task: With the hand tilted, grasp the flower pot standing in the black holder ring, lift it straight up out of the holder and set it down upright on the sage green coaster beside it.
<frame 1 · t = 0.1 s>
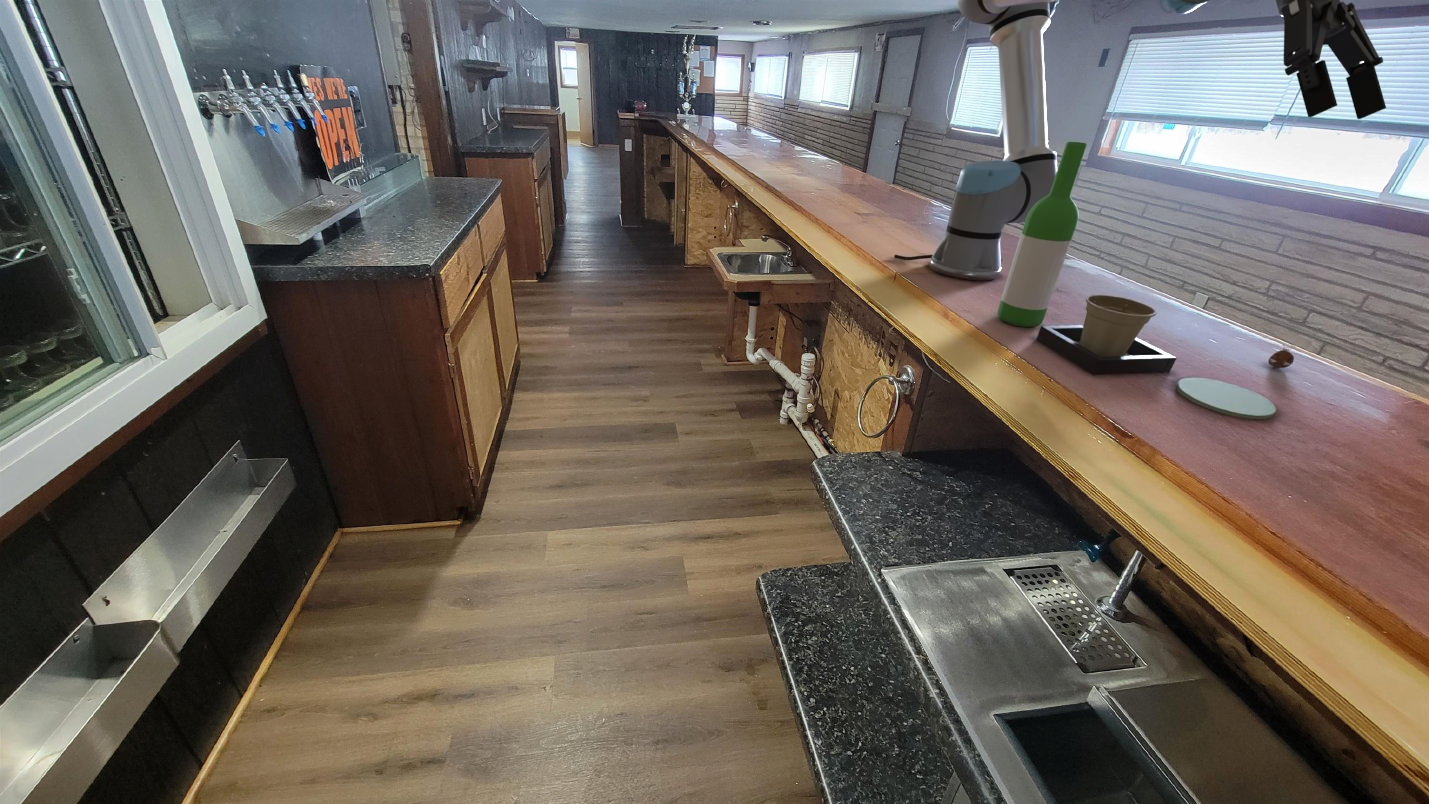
hand: (1348, 113, 80), 36 cm above the counter, tool tilted 35°, fingers open, 13 cm apart
chocolate: (1276, 369, 90), on the counter
wine bottle: (1018, 322, 104), on the counter
coaster: (1223, 399, 80), on the counter
flower pot: (1099, 356, 92), resting in holder
holder: (1099, 355, 91), on the counter
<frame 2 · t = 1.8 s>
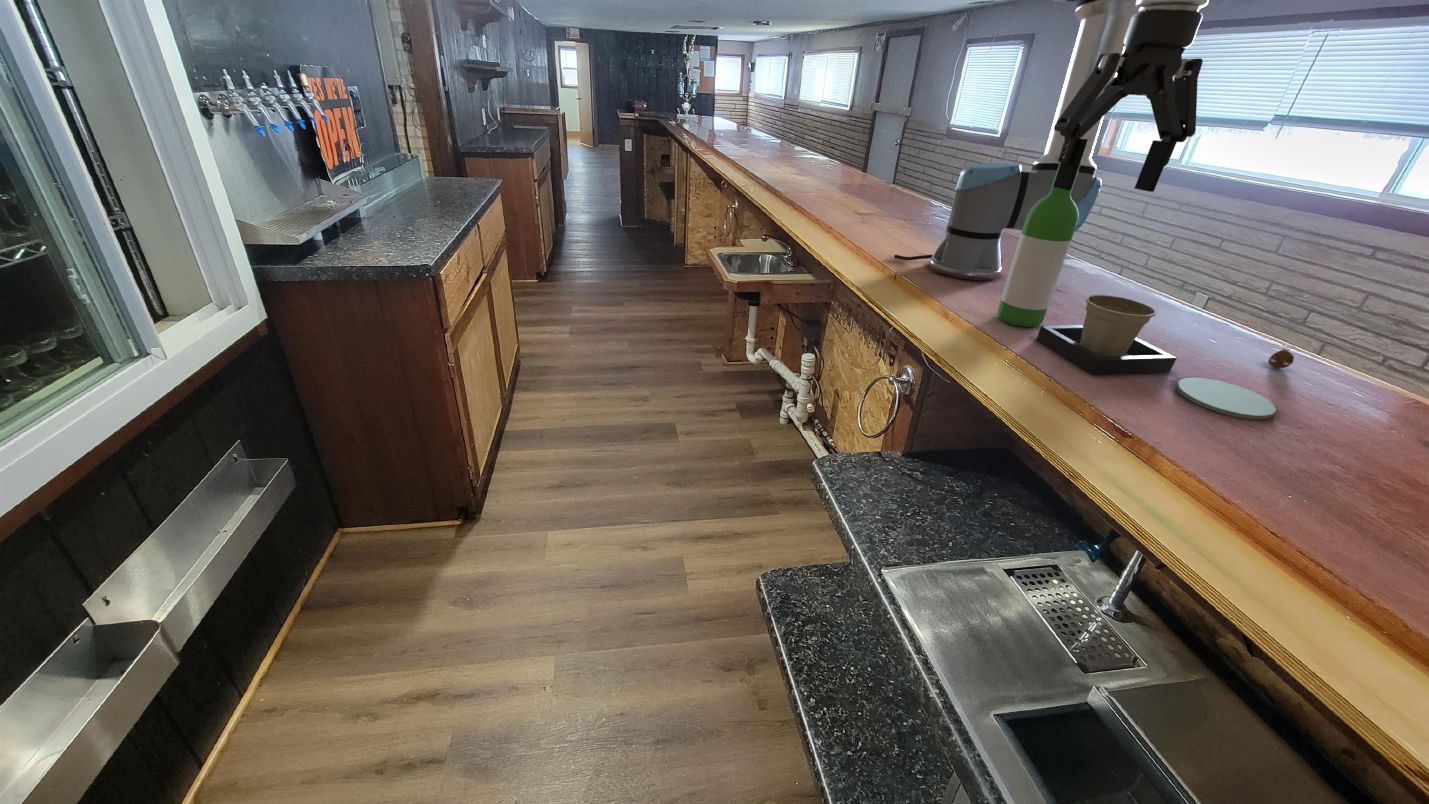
hand: (1103, 189, 81), 25 cm above the counter, tool pointing down, fingers open, 13 cm apart
nothing on the counter moved.
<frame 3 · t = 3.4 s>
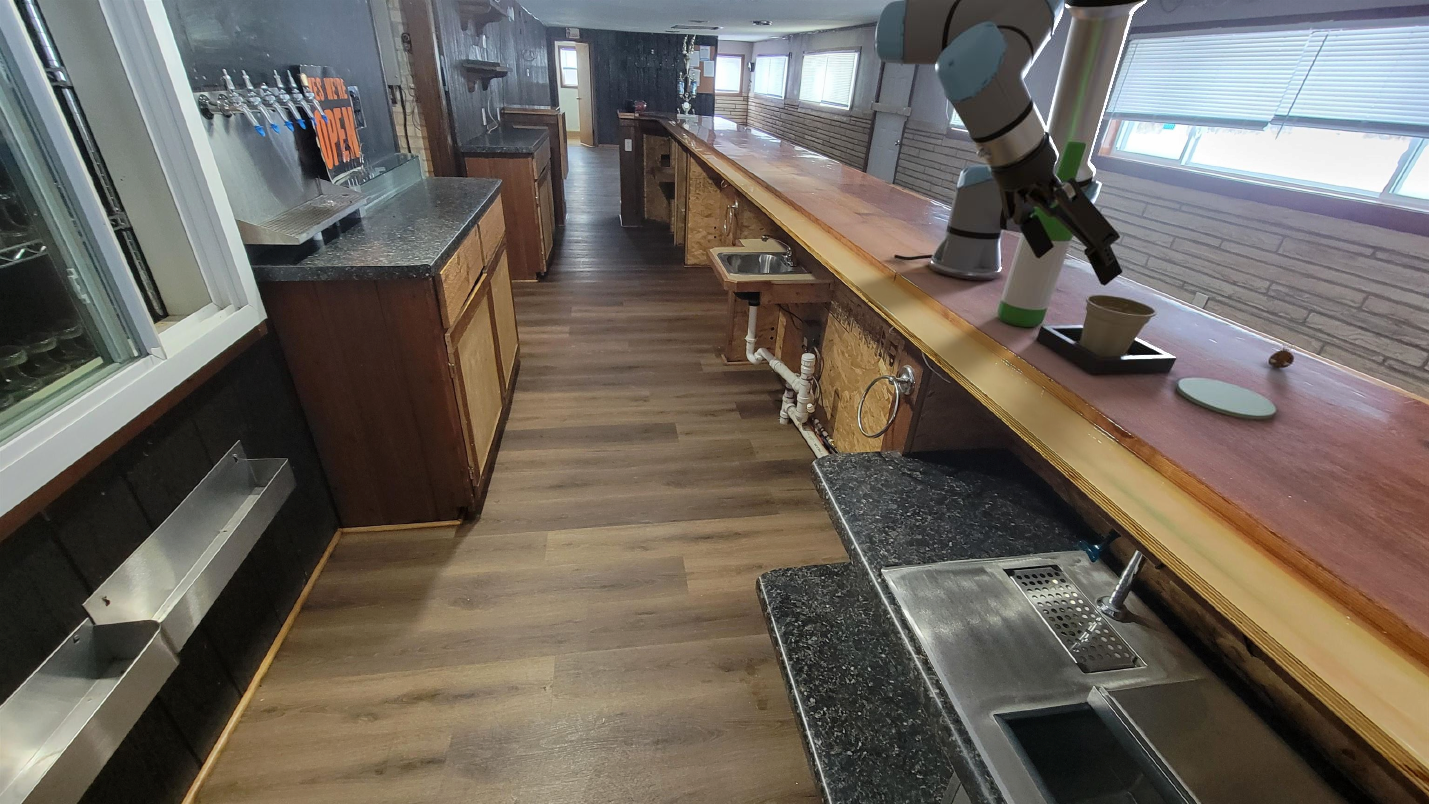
hand: (1076, 264, 82), 15 cm above the counter, tool tilted 45°, fingers open, 13 cm apart
nothing on the counter moved.
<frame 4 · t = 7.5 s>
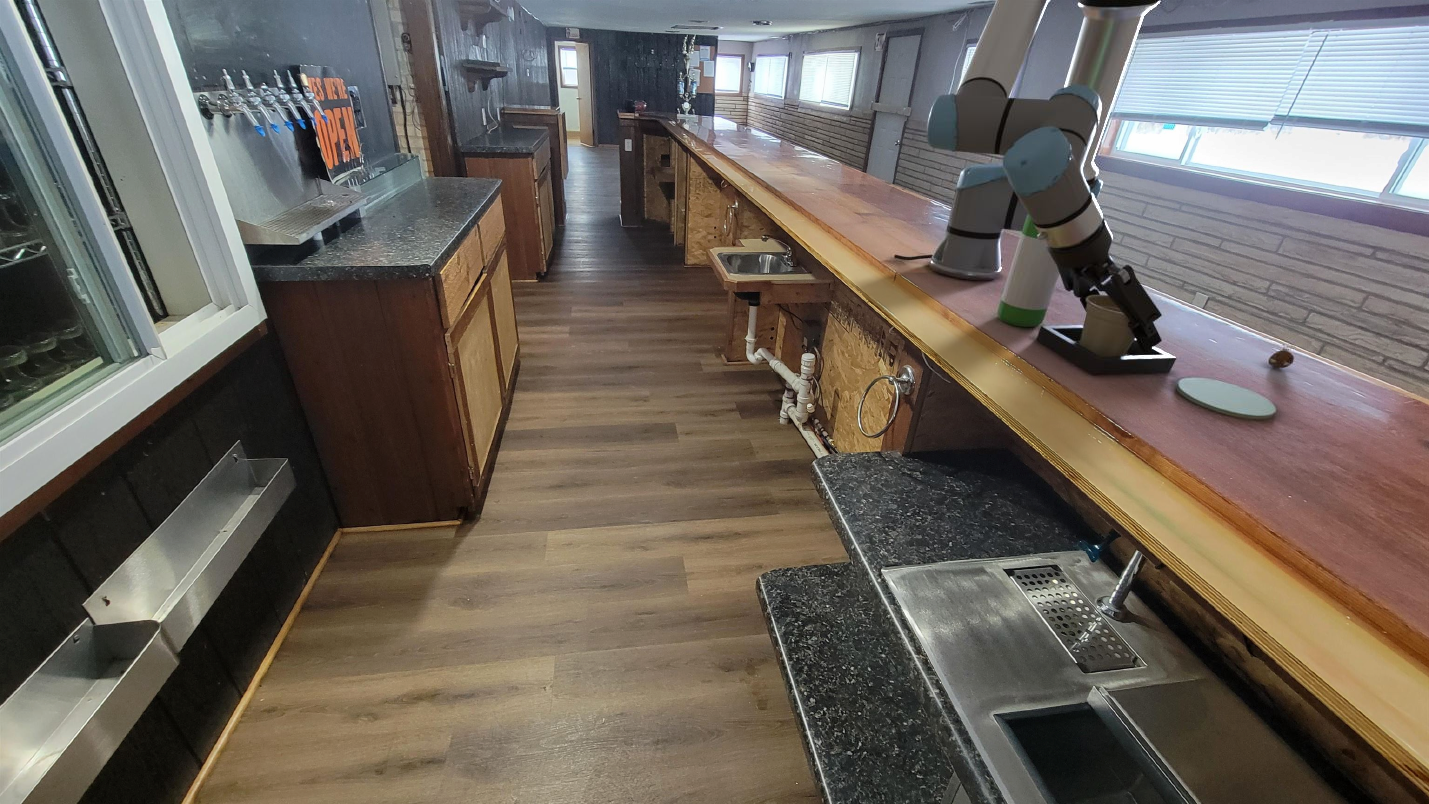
hand: (1125, 332, 90), 4 cm above the counter, tool tilted 45°, fingers closed on flower pot, 9 cm apart
flower pot: (1099, 356, 92), resting in holder, touching gripper
everything else where it was.
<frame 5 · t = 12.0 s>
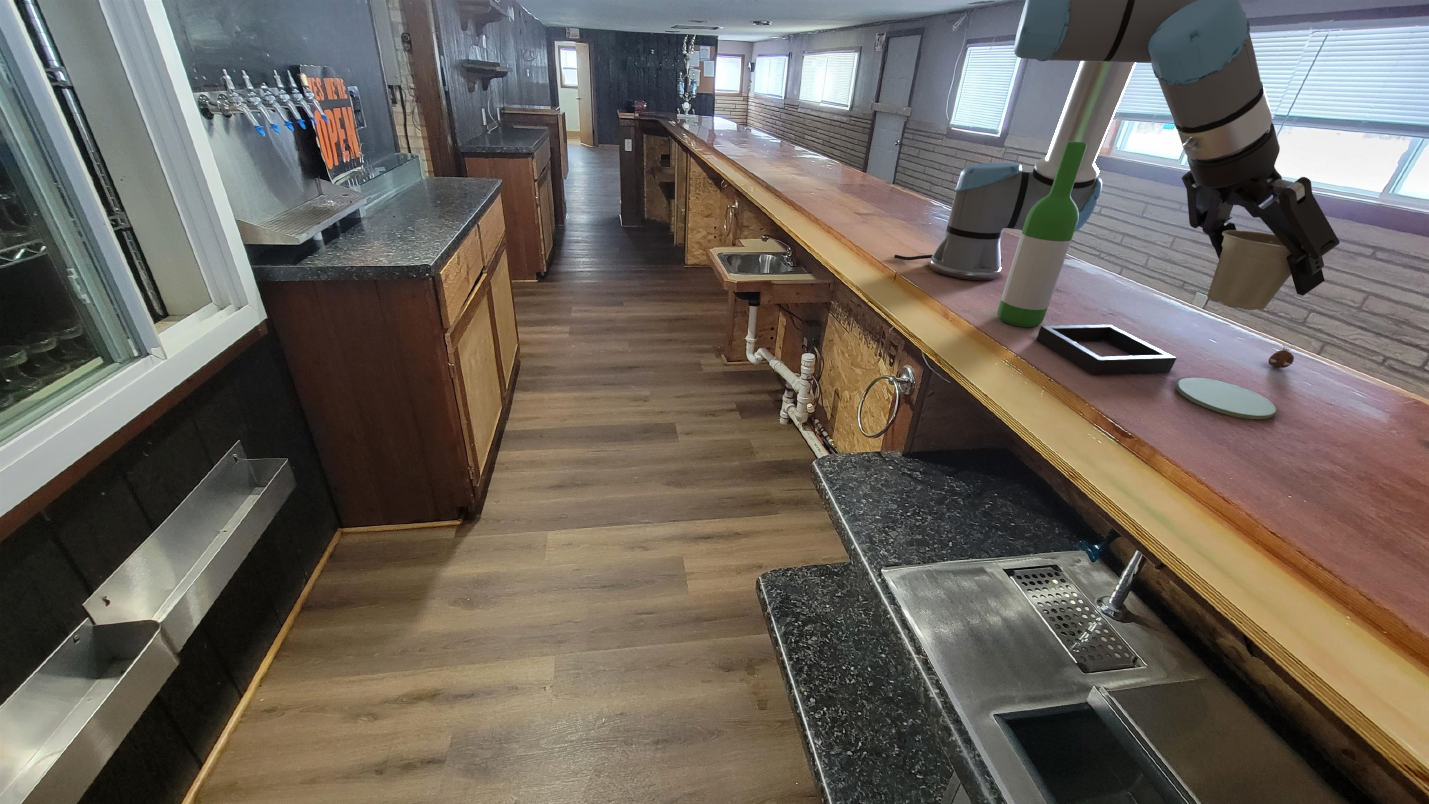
hand: (1270, 275, 74), 17 cm above the counter, tool tilted 45°, fingers closed on flower pot, 9 cm apart
flower pot: (1234, 304, 76), point 13 cm above the counter, touching gripper
everything else where it was.
when the fingers open (4 cm above the counter, at t = 16.3 s): flower pot stays where it is, resting on coaster.
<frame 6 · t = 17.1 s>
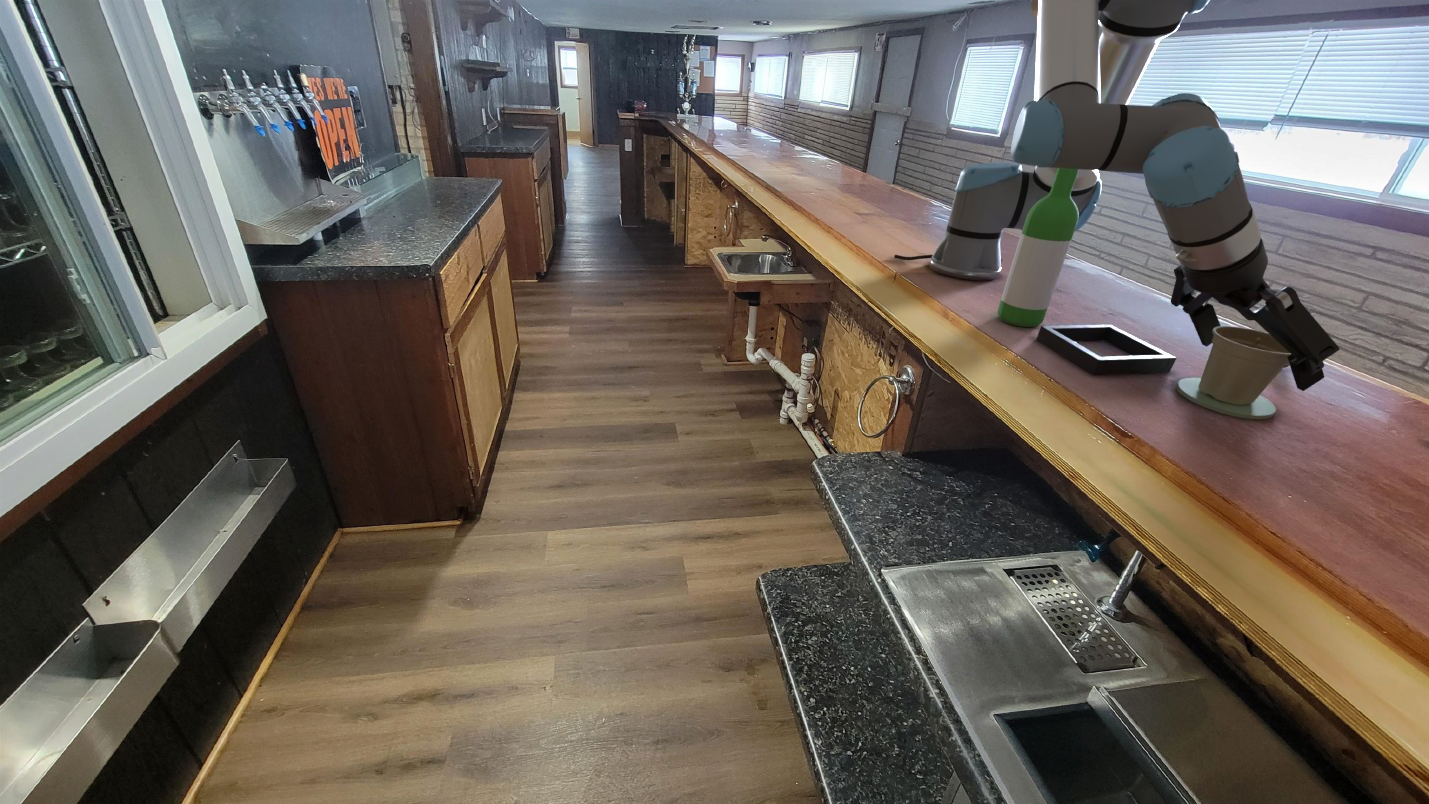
hand: (1258, 359, 77), 6 cm above the counter, tool tilted 45°, fingers open, 13 cm apart
flower pot: (1224, 396, 79), resting on coaster
everything else where it was.
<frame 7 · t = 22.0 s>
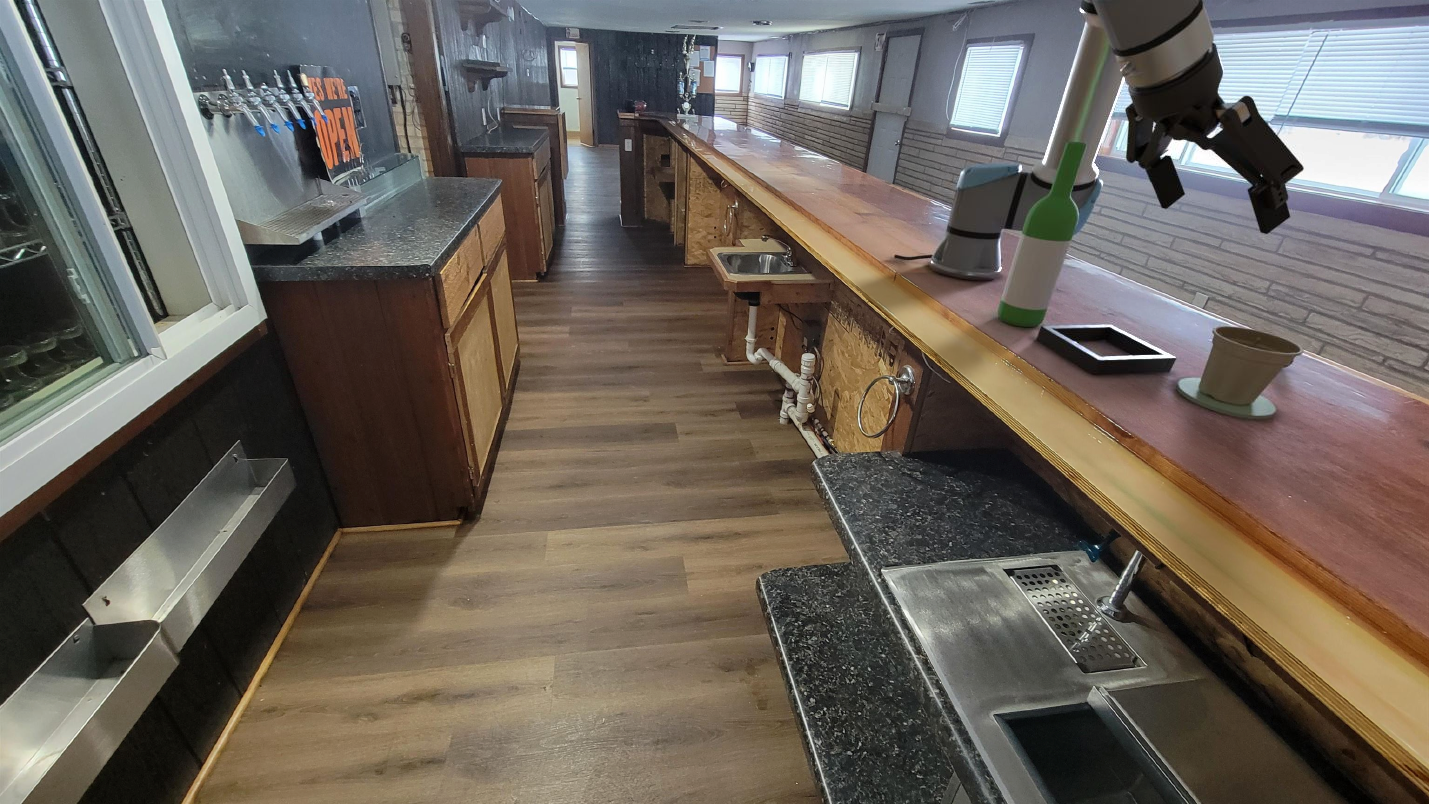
hand: (1220, 212, 69), 25 cm above the counter, tool tilted 45°, fingers open, 13 cm apart
nothing on the counter moved.
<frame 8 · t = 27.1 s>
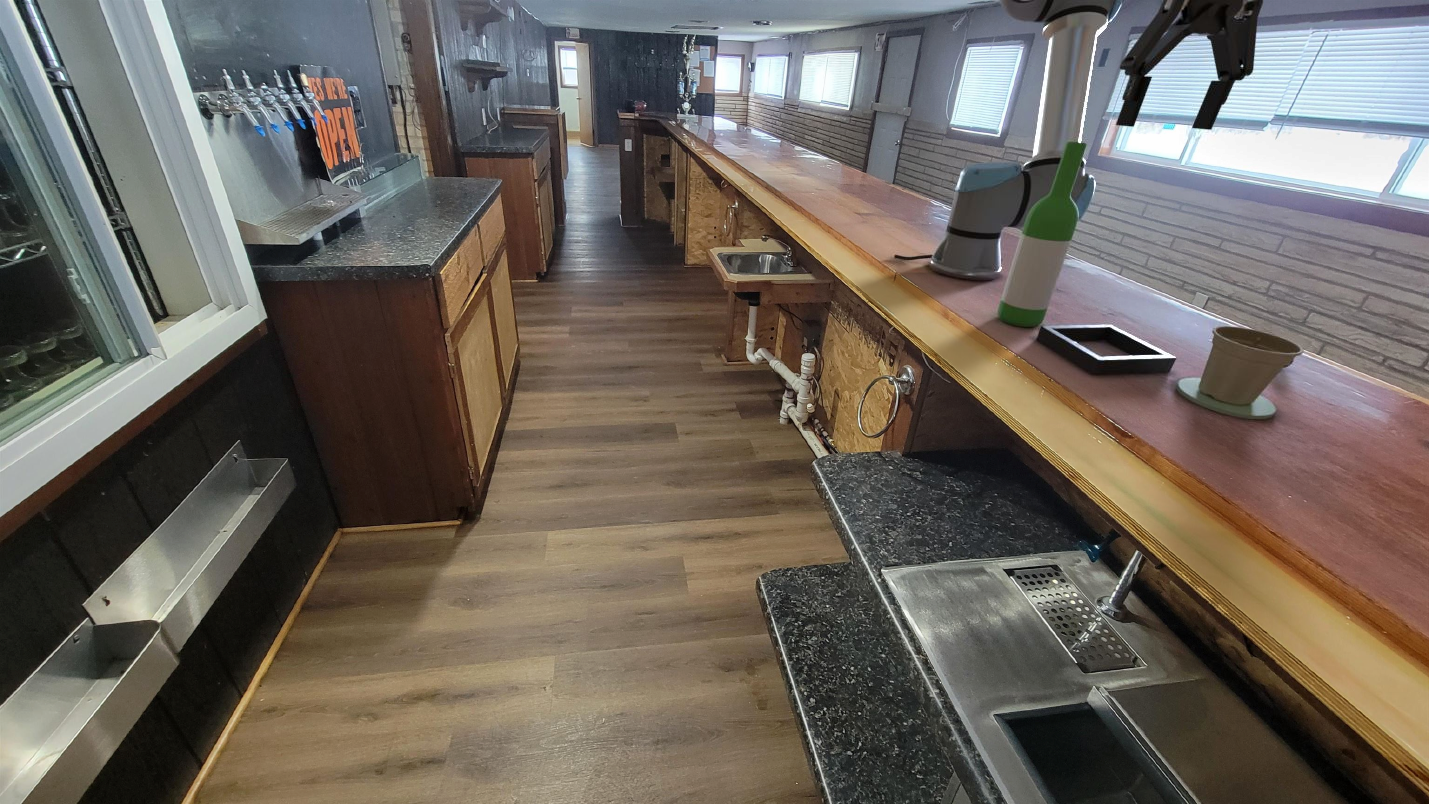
hand: (1163, 128, 86), 33 cm above the counter, tool pointing down, fingers open, 13 cm apart
nothing on the counter moved.
at the end: flower pot 0.1 cm from the coaster (horizontally); flower pot tilted 0°; the gripper is holding nothing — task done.
